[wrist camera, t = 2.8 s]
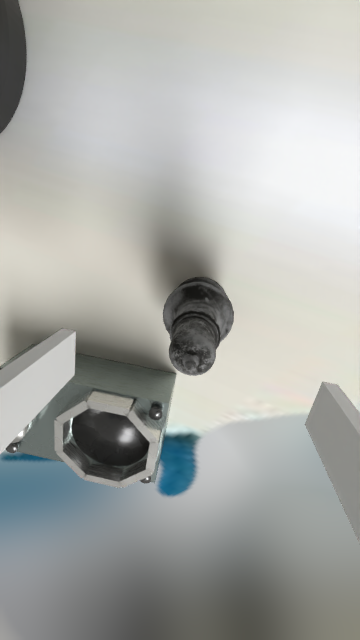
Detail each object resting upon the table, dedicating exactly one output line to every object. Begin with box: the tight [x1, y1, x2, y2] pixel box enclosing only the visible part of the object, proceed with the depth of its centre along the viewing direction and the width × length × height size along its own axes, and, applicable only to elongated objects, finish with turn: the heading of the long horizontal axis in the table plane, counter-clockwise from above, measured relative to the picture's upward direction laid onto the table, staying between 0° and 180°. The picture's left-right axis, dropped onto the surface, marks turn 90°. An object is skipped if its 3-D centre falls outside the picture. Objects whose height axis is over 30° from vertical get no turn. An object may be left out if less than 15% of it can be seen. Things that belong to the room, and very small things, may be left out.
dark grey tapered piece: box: [163, 277, 234, 376], centre depth 20 cm, size 6×6×12 cm
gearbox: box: [0, 344, 176, 488], centre depth 27 cm, size 16×10×7 cm, turn 81°
